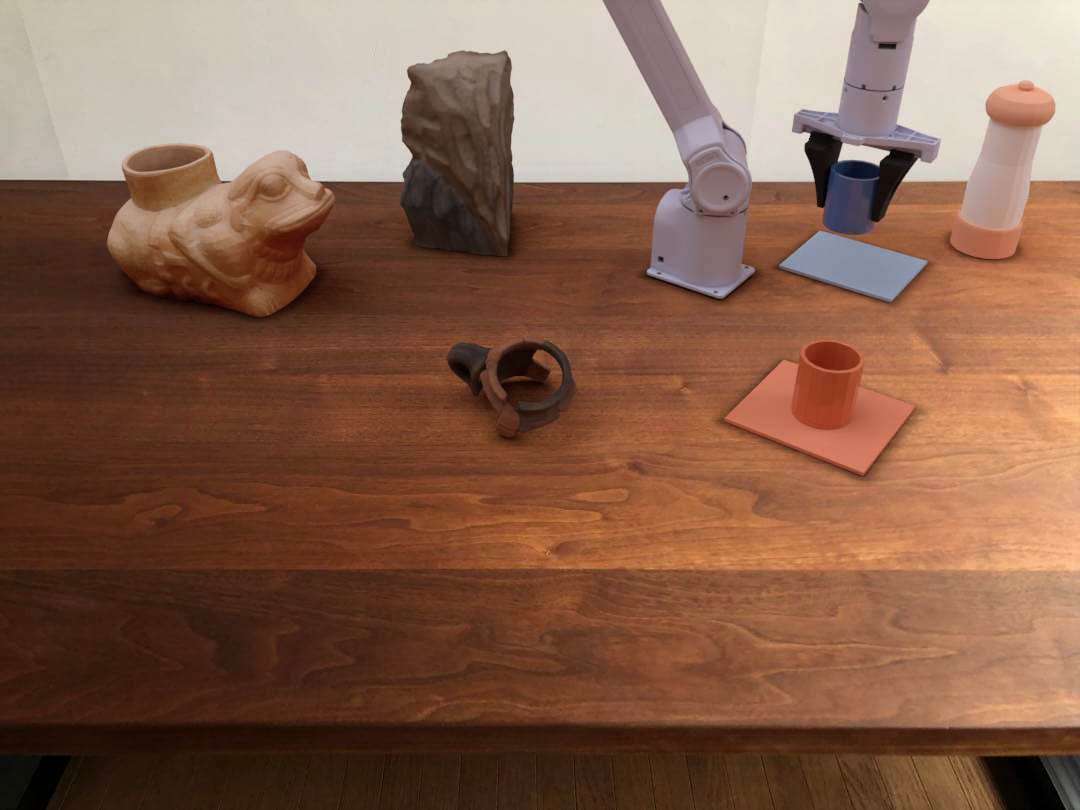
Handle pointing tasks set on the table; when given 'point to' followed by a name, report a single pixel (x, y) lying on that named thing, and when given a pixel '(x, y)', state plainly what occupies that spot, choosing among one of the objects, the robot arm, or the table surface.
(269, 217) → the ceramic vessel
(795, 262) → the blue mat
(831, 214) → the blue cup
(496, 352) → the dark brown ring-shaped piece
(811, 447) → the coral mat
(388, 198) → the table surface
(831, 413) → the terracotta cup
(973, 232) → the salt shaker
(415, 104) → the grey brown rock
